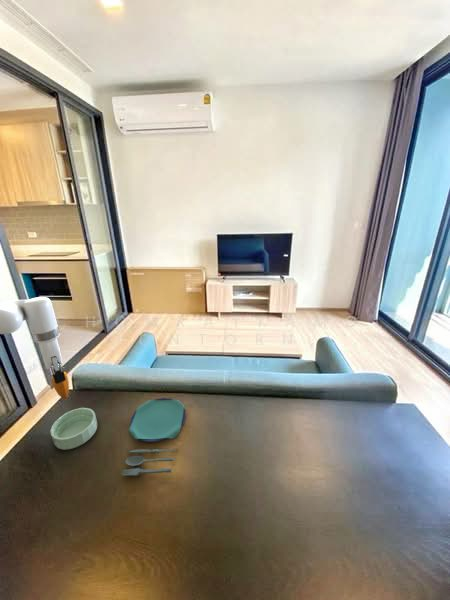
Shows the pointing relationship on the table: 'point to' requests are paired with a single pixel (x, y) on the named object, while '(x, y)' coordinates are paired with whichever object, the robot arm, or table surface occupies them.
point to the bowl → (74, 428)
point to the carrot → (62, 386)
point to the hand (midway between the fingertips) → (59, 377)
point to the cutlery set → (155, 429)
